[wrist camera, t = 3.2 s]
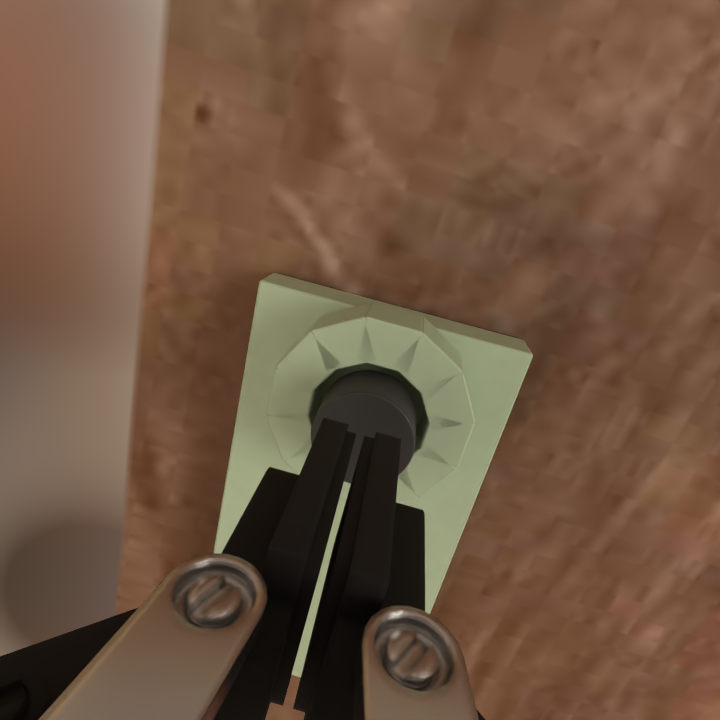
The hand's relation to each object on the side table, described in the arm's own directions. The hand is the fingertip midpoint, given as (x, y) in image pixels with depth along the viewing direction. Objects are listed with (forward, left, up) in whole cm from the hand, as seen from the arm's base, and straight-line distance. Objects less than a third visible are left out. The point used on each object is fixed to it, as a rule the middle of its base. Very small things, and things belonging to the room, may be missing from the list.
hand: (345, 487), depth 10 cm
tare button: (0, 0, -3) cm, 3 cm away
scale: (+5, 0, -6) cm, 8 cm away
